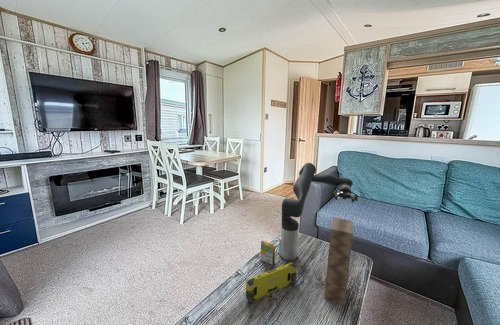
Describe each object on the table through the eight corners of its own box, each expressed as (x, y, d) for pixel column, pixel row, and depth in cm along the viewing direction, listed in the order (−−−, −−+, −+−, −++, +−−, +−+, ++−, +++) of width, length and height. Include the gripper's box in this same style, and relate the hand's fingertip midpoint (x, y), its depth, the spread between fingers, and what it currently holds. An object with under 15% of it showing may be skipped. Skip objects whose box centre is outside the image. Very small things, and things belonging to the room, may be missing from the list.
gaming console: (291, 278, 101) (292, 260, 100) (297, 284, 98) (298, 265, 96) (243, 299, 89) (244, 278, 87) (248, 306, 86) (249, 285, 84)
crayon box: (274, 261, 113) (275, 242, 111) (272, 265, 111) (273, 244, 109) (262, 257, 117) (263, 238, 115) (260, 260, 115) (260, 240, 112)
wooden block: (324, 297, 90) (330, 228, 85) (327, 279, 101) (333, 217, 95) (344, 304, 87) (352, 233, 81) (345, 285, 98) (352, 220, 92)
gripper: (334, 184, 141) (332, 191, 126) (357, 187, 135) (358, 195, 120) (332, 195, 142) (330, 203, 127) (356, 199, 136) (357, 207, 122)
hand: (344, 199), depth 124 cm, fingers open, 8 cm apart
